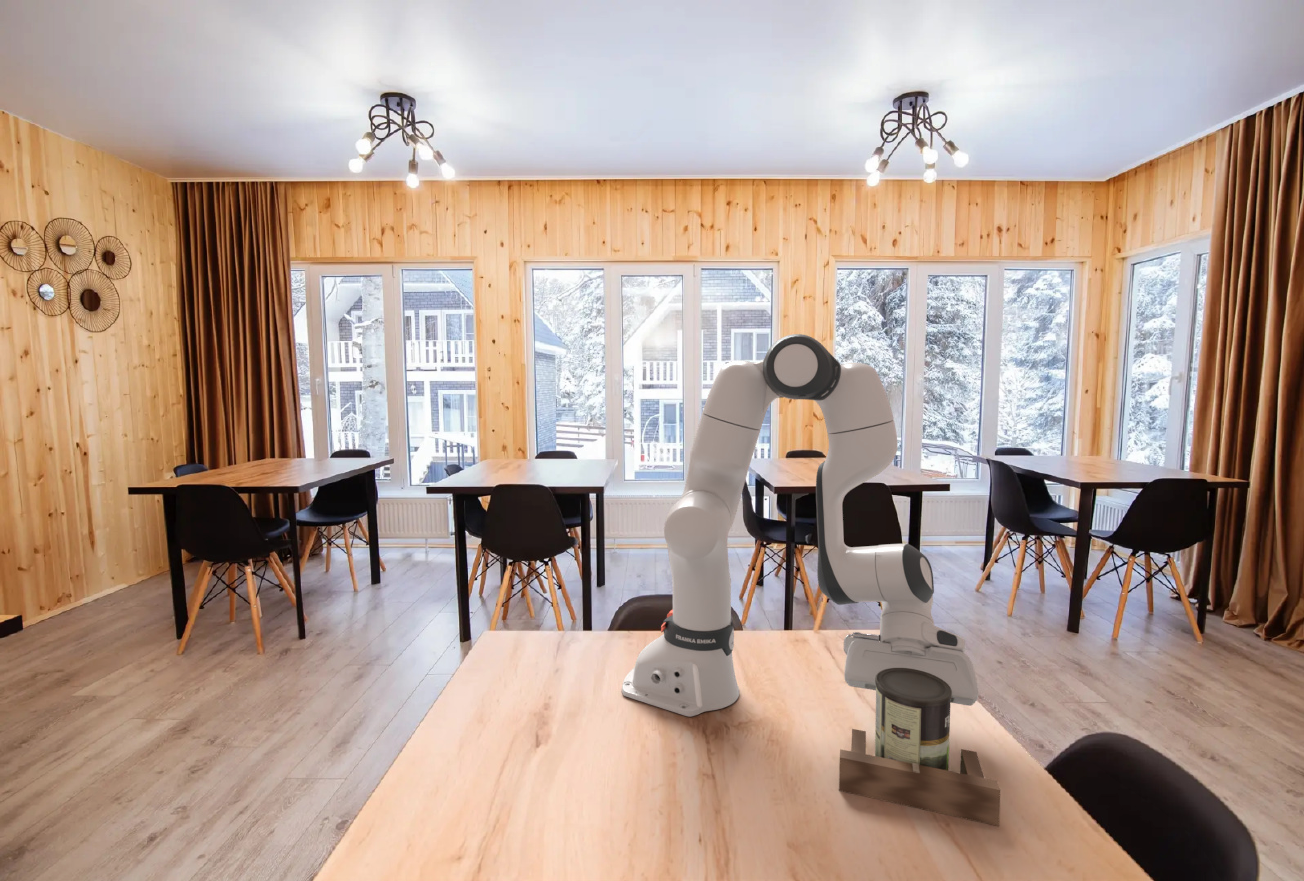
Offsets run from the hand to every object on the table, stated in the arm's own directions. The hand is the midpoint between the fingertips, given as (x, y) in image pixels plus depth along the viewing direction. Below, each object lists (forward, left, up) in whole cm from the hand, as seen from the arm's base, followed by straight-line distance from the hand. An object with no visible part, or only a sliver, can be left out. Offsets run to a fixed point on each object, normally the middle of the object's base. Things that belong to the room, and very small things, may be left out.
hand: (909, 722), depth 91 cm
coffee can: (0, -6, -5) cm, 8 cm away
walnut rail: (0, -10, -4) cm, 11 cm away
